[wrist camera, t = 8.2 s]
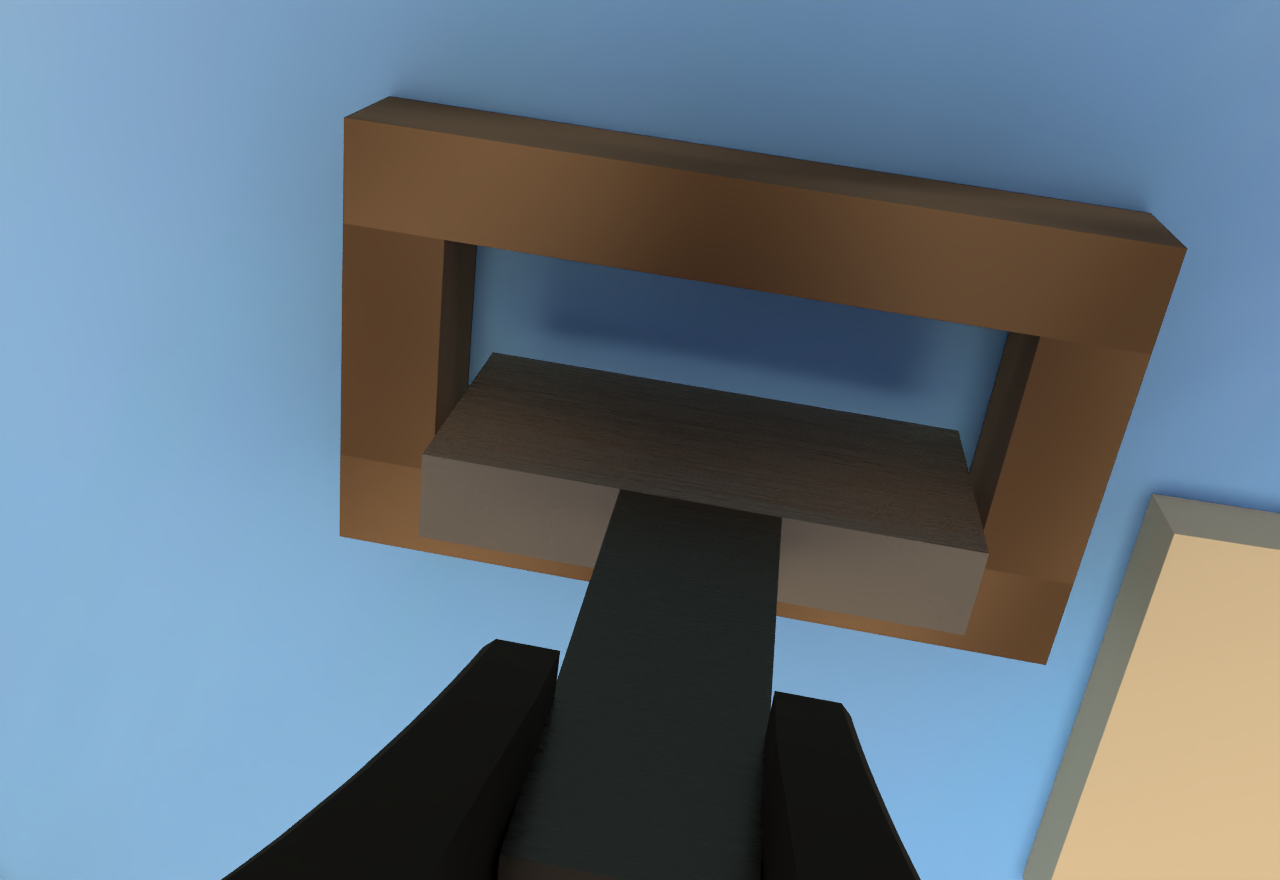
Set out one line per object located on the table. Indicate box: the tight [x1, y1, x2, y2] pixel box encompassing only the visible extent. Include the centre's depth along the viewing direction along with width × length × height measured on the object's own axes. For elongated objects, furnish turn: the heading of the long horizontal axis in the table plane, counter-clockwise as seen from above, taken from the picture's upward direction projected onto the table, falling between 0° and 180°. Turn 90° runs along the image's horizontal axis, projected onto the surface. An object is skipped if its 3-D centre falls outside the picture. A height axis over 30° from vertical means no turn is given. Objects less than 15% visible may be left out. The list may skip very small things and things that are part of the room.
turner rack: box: [340, 96, 1187, 665], centre depth 19 cm, size 12×7×2 cm, turn 83°
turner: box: [419, 352, 989, 880], centre depth 13 cm, size 7×1×10 cm, turn 83°
